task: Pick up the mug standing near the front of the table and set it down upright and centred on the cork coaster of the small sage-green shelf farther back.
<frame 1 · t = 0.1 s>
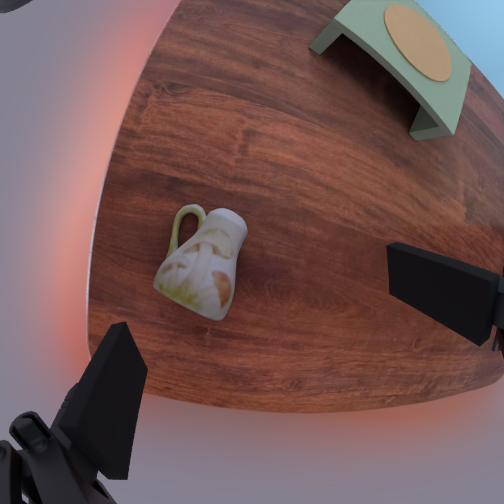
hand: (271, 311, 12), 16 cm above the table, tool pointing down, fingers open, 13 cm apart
mug: (203, 252, 27), on the table
shelf: (388, 58, 26), on the table
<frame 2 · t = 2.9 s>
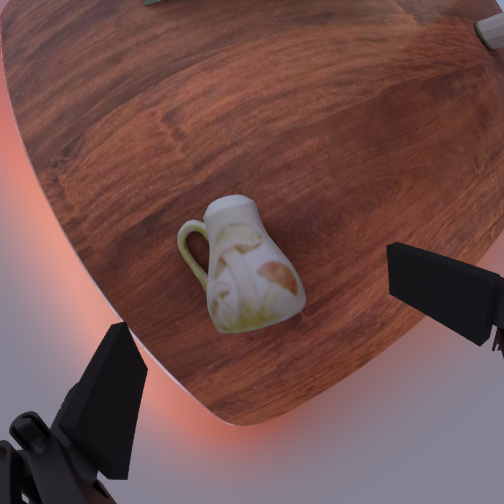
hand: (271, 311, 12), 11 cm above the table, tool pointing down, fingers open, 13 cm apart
mug: (234, 255, 23), on the table
bottle: (481, 37, 23), on the table
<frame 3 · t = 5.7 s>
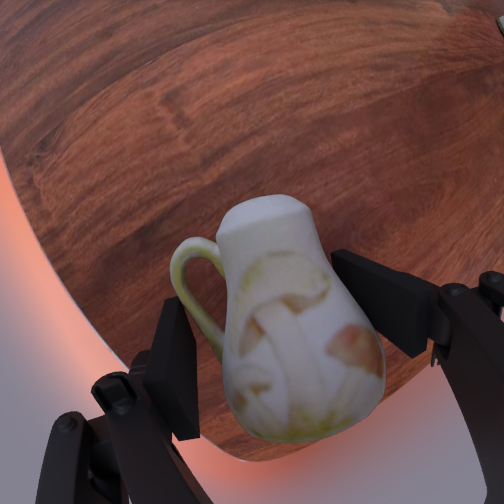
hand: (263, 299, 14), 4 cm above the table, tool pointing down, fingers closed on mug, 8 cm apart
mug: (264, 293, 14), point 4 cm above the table, touching gripper
bottle: (503, 33, 18), on the table
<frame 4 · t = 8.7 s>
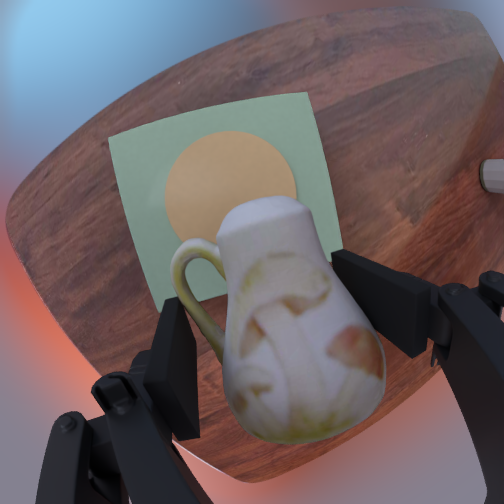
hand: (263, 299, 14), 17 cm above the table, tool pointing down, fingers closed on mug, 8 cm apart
mug: (264, 294, 14), point 17 cm above the table, touching gripper
shelf: (224, 196, 29), on the table
bottle: (484, 175, 36), on the table
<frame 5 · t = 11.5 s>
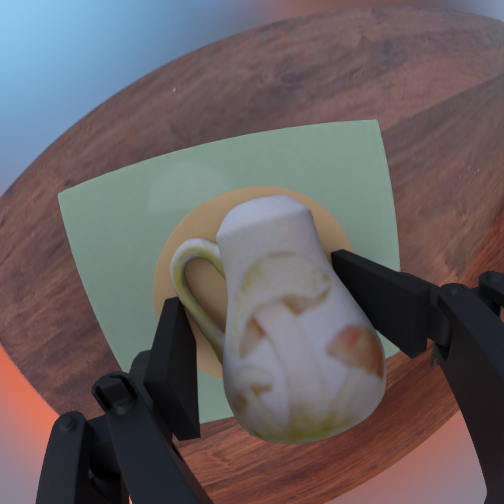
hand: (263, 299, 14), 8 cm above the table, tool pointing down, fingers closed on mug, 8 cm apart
mug: (264, 294, 14), point 7 cm above the table, touching gripper
shelf: (241, 262, 21), on the table
when the fingers open (8 cm above the table, at t = 11.7 s): mug stays where it is, resting on shelf.
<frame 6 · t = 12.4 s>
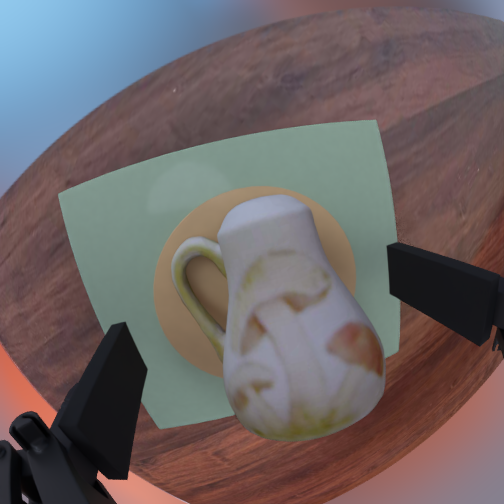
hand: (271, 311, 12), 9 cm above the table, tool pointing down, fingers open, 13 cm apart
mug: (264, 293, 14), point 7 cm above the table, touching shelf
shelf: (241, 262, 21), on the table
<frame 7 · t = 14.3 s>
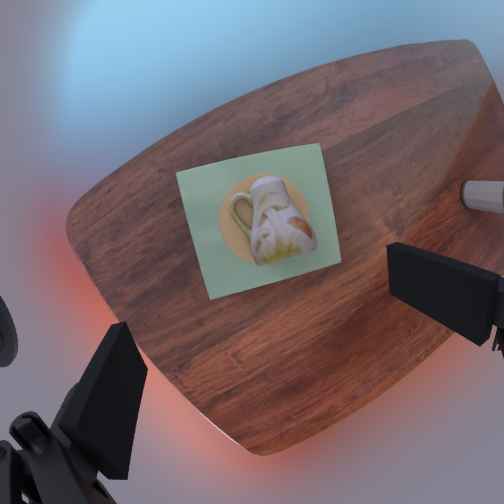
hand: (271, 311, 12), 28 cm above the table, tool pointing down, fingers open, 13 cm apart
mug: (267, 218, 33), point 7 cm above the table, touching shelf
shelf: (255, 215, 40), on the table
bottle: (466, 194, 47), on the table
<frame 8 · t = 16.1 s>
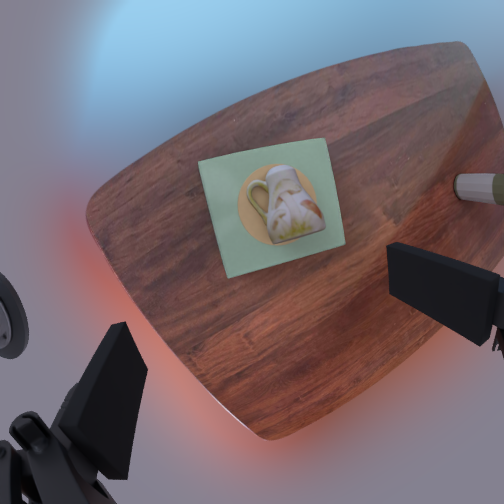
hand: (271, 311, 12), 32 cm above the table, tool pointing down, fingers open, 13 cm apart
mug: (279, 203, 36), point 7 cm above the table, touching shelf
shelf: (266, 203, 43), on the table
bottle: (458, 186, 51), on the table
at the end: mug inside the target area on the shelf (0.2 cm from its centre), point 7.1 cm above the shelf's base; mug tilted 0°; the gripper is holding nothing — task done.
